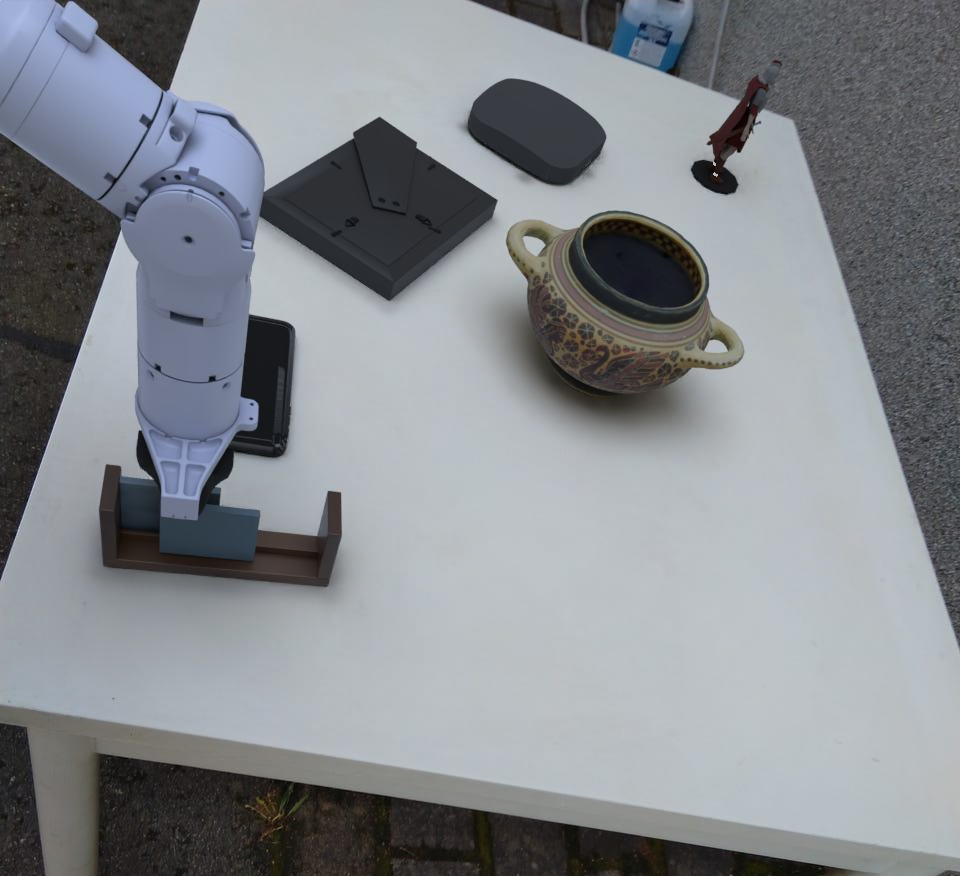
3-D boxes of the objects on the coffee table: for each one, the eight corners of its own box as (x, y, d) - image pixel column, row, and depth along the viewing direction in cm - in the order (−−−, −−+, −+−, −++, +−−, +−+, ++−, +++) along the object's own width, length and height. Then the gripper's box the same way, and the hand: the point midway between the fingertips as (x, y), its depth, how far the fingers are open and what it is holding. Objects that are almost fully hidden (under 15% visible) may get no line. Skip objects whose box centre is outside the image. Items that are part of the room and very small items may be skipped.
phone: (186, 433, 73) (205, 305, 81) (186, 443, 74) (205, 315, 82) (288, 449, 75) (297, 323, 83) (286, 459, 76) (295, 332, 84)
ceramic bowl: (448, 351, 93) (471, 242, 79) (539, 242, 99) (575, 123, 85) (655, 486, 91) (716, 400, 77) (734, 366, 98) (803, 267, 84)
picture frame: (374, 141, 103) (256, 213, 91) (379, 116, 100) (259, 187, 88) (492, 217, 102) (389, 300, 90) (500, 193, 100) (395, 276, 87)
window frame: (327, 544, 73) (341, 491, 68) (328, 586, 71) (342, 535, 66) (109, 522, 68) (105, 463, 63) (103, 566, 66) (98, 509, 61)
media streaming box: (454, 129, 109) (461, 104, 106) (511, 89, 117) (518, 65, 115) (560, 194, 108) (569, 171, 105) (609, 149, 116) (618, 126, 114)
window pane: (253, 551, 69) (264, 478, 62) (253, 565, 69) (264, 492, 62) (160, 542, 67) (161, 465, 61) (159, 556, 67) (159, 480, 60)
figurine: (738, 201, 119) (805, 84, 107) (686, 182, 118) (748, 62, 106) (736, 172, 123) (800, 56, 111) (685, 153, 122) (745, 34, 109)
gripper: (261, 454, 49) (241, 595, 60) (269, 273, 56) (250, 428, 68) (118, 435, 47) (125, 585, 58) (146, 250, 54) (147, 414, 65)
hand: (185, 500), depth 63 cm, fingers closed on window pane
